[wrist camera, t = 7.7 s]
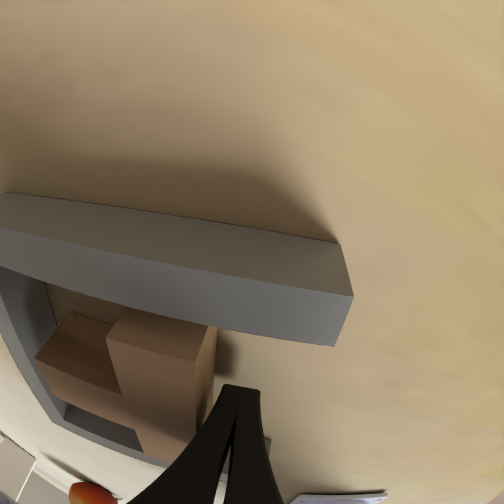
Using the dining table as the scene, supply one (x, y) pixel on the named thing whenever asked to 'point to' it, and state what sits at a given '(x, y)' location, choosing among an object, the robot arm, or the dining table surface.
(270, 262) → the dock
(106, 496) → the fruit
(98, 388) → the t block
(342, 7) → the dining table surface
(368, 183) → the dining table surface
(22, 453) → the milk carton
